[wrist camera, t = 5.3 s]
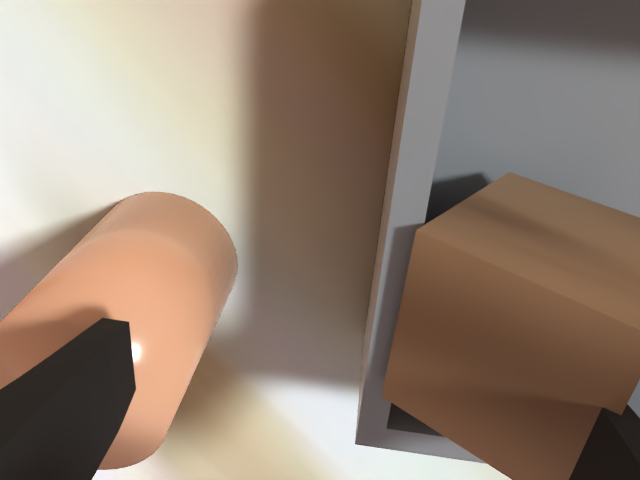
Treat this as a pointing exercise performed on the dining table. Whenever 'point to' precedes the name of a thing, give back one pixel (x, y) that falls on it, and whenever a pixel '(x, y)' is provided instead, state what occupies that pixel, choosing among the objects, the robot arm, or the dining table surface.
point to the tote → (497, 145)
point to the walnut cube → (519, 325)
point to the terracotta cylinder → (133, 306)
